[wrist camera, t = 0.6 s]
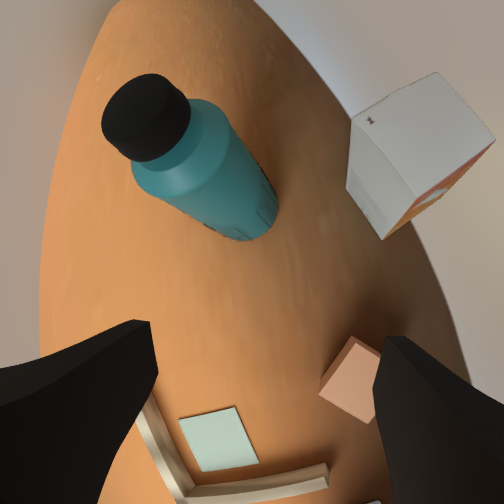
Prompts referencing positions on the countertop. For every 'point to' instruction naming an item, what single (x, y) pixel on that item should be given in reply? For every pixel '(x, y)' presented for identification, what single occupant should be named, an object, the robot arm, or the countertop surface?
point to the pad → (218, 440)
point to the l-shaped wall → (222, 494)
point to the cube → (352, 379)
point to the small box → (411, 151)
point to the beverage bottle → (189, 157)
